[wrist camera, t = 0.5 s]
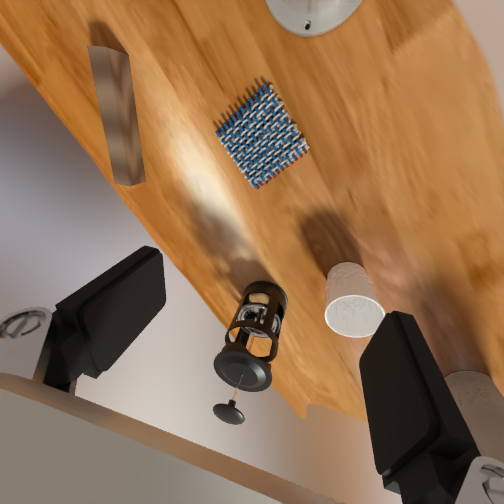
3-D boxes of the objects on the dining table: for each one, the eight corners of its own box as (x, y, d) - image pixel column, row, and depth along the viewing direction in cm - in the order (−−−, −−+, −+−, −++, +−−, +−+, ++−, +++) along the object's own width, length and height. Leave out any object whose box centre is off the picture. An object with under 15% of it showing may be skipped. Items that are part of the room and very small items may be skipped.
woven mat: (256, 190, 38) (253, 193, 36) (216, 133, 36) (211, 134, 34) (312, 149, 33) (312, 151, 31) (270, 80, 31) (267, 77, 29)
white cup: (337, 251, 39) (341, 286, 31) (381, 269, 38) (398, 310, 30) (316, 284, 43) (315, 323, 35) (355, 301, 43) (364, 345, 34)
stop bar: (110, 53, 34) (86, 45, 30) (128, 54, 33) (106, 46, 30) (131, 178, 43) (115, 183, 39) (145, 181, 42) (130, 186, 39)
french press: (261, 270, 45) (216, 381, 25) (299, 297, 46) (283, 426, 26) (232, 303, 51) (177, 412, 31) (265, 326, 52) (232, 448, 32)
